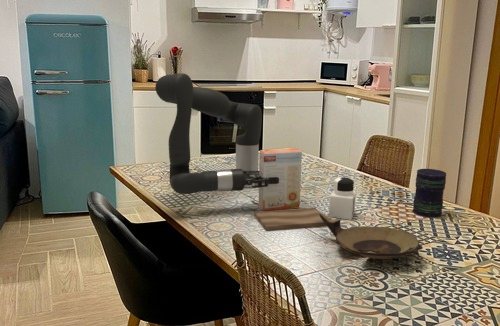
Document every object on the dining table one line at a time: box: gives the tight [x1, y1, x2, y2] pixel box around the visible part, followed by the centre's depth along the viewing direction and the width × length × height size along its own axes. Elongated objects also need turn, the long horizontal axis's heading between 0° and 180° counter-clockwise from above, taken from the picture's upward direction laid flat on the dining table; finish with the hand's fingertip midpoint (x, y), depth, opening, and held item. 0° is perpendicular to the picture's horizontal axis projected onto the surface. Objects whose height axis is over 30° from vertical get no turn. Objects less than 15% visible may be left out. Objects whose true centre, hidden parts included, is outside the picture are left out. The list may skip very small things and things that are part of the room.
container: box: [328, 176, 357, 221], centre depth 171 cm, size 8×8×13 cm
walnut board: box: [253, 207, 327, 232], centre depth 166 cm, size 14×22×2 cm, turn 105°
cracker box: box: [258, 148, 303, 211], centre depth 177 cm, size 14×6×21 cm, turn 105°
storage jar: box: [412, 168, 447, 219], centre depth 175 cm, size 10×10×15 cm
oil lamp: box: [320, 212, 424, 260], centre depth 144 cm, size 22×30×8 cm
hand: (275, 177), depth 176 cm, fingers closed on cracker box, 6 cm apart
